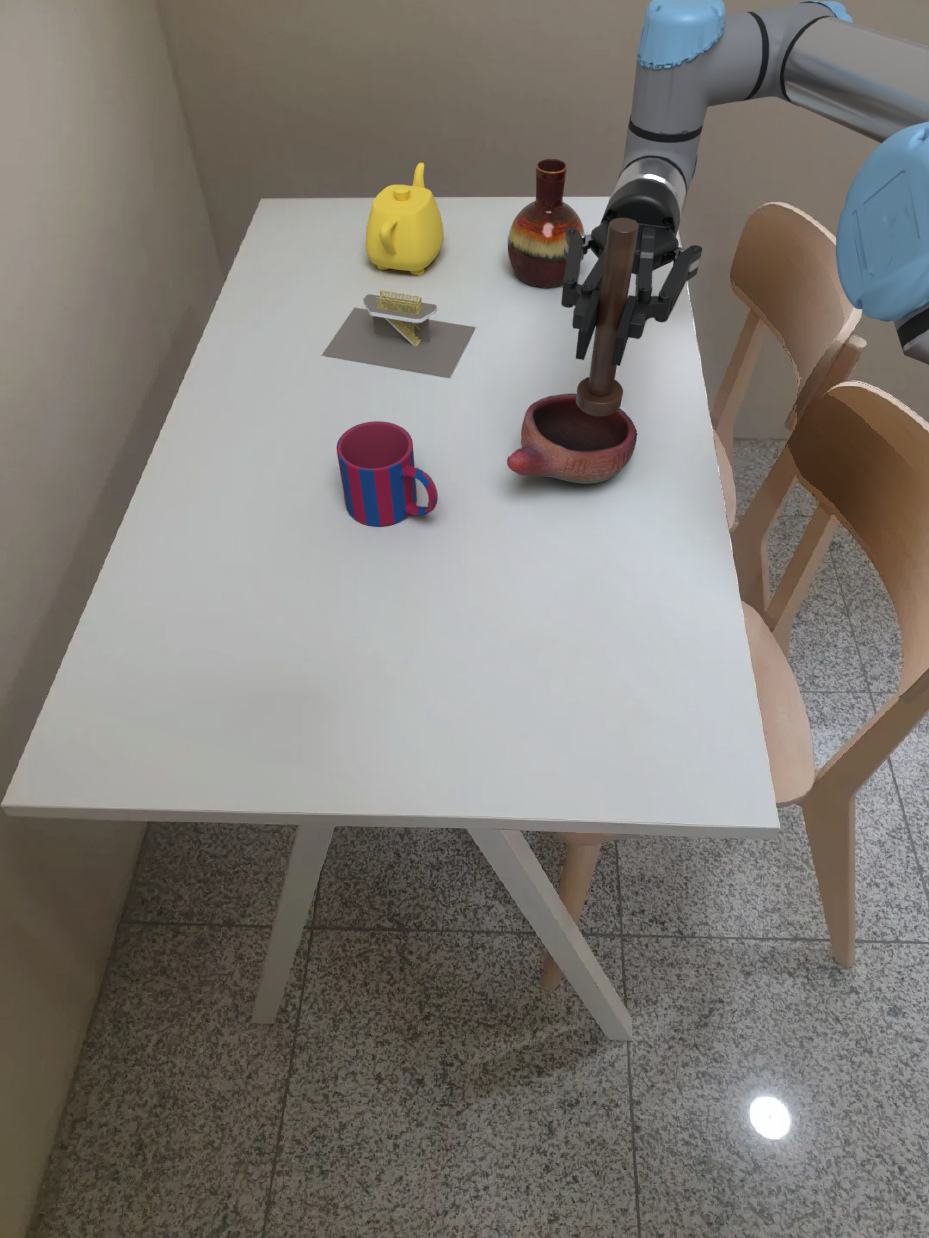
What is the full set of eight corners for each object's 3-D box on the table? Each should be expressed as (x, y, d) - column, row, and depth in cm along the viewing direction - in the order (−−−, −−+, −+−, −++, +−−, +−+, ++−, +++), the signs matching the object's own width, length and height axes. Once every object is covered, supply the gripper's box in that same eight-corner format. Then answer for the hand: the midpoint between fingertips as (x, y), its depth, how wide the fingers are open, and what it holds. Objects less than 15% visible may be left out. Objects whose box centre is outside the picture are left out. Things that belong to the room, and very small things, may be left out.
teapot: (393, 225, 134) (387, 154, 125) (459, 234, 132) (458, 162, 123) (352, 283, 123) (343, 210, 115) (423, 294, 121) (420, 220, 113)
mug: (383, 467, 98) (377, 411, 92) (456, 518, 93) (455, 461, 86) (331, 502, 95) (320, 446, 88) (403, 556, 89) (398, 501, 83)
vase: (503, 256, 127) (506, 148, 115) (576, 253, 128) (586, 146, 116) (510, 296, 121) (514, 186, 108) (586, 293, 121) (599, 183, 109)
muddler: (624, 392, 82) (655, 215, 69) (616, 420, 80) (647, 241, 66) (580, 384, 83) (602, 208, 69) (571, 412, 81) (591, 234, 67)
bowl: (535, 422, 103) (539, 367, 97) (639, 442, 100) (650, 387, 94) (499, 511, 94) (500, 456, 87) (612, 535, 91) (622, 480, 85)
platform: (449, 377, 109) (448, 333, 104) (321, 355, 112) (314, 310, 107) (475, 327, 116) (475, 283, 111) (354, 307, 119) (349, 263, 114)
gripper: (712, 262, 86) (683, 400, 72) (564, 241, 89) (509, 371, 75) (729, 187, 80) (701, 323, 66) (570, 168, 83) (512, 294, 69)
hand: (599, 348), depth 71 cm, fingers closed on muddler, 2 cm apart
